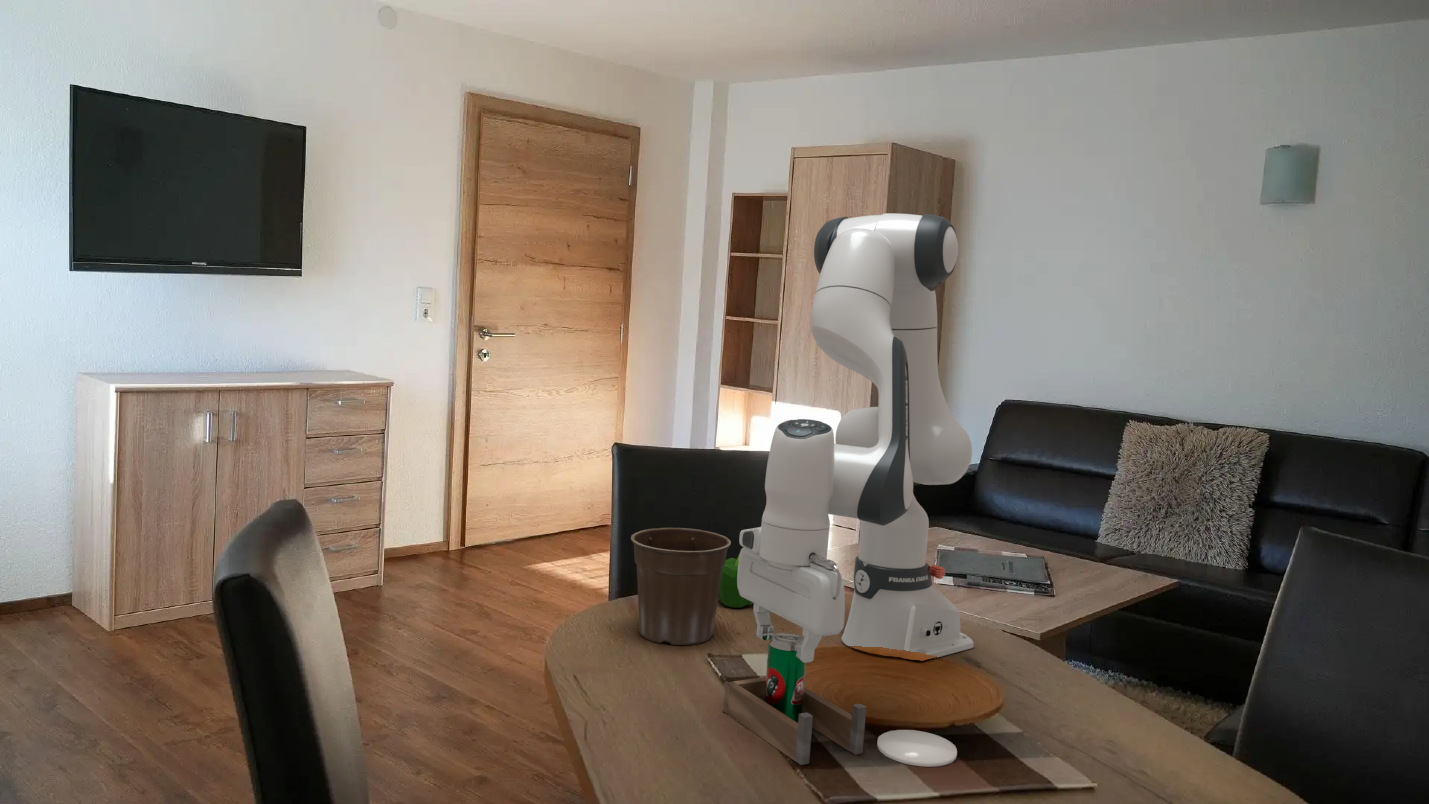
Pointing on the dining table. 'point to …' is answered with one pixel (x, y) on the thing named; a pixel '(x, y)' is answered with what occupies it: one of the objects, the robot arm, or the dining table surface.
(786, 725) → the dispenser
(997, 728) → the dining table surface
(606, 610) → the dining table surface
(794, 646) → the soda can
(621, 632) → the dining table surface
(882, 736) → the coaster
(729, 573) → the bell pepper
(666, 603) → the plant pot
